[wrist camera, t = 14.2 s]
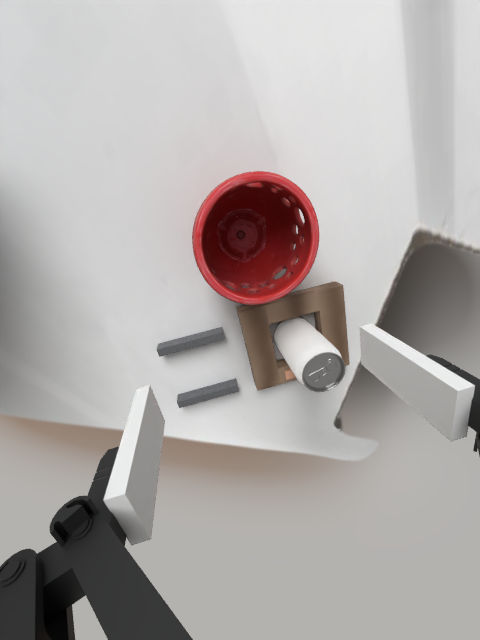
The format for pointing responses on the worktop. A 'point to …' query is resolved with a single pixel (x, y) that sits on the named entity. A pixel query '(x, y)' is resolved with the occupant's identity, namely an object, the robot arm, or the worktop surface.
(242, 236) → the plant pot
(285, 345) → the can
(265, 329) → the plate
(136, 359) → the worktop surface
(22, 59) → the worktop surface
